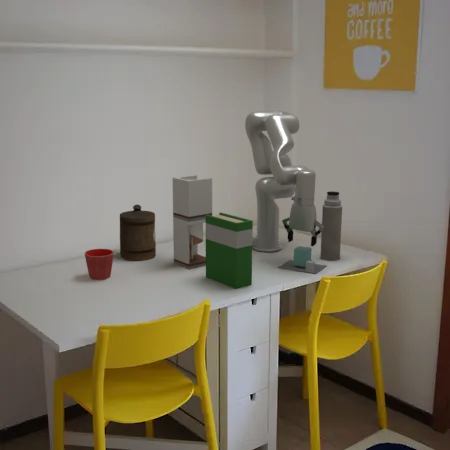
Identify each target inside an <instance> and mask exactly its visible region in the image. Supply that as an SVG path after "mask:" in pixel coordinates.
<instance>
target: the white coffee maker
mask: <svg viewBox="0 0 450 450" xmlns="http://www.w3.org/2000/svg"><path fill="white" fill-rule="evenodd" d="M206 215H210V216H213V177H209V178H199V179H198V175H197V174H193V175H185V176H184V175H183V176H177V177H172V225H173V226H172V228H173V229H172V232H173V234H172V237H173V264H175V265H177V266H179V267H182V268H184V269H187V270H193V269H199V268H202V267H206V256H203V255H201V254H198V252H199V249H198V245H199V244H200V243H203V242H204V223H205V224H206Z"/></svg>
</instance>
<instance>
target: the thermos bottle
mask: <svg viewBox="0 0 450 450" xmlns="http://www.w3.org/2000/svg"><path fill="white" fill-rule="evenodd" d="M326 194H327V195H326V198H325V199H324V201H323V203H324V204H322V209H321V210H322V213H321V214H322V216H321V224H322V225H323V226H324V228H323V230H322V232H321V233H320V234H321V235H320V236H321V239H320V259H322V260H324V261H333V262H334V261H339V260H340V259H341V239H342V238H341V237H342V224H343V223H342V220H343V219H342V218H343V205H342V200H341V199H340V192H338V191H327V192H326Z"/></svg>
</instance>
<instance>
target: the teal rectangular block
mask: <svg viewBox="0 0 450 450" xmlns="http://www.w3.org/2000/svg"><path fill="white" fill-rule="evenodd" d="M312 249H313V248H312V247H311V246H310V247H309V246H302V245H299V246H297V247H295V248H294V249H293V260H294V265H296V266H303V267H306V262H307V261H308V260H309V261H312Z"/></svg>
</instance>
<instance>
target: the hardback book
mask: <svg viewBox="0 0 450 450" xmlns="http://www.w3.org/2000/svg"><path fill="white" fill-rule="evenodd" d="M253 223H254V220H251V219H249V218H248V219H247V218H244V217H241V216H240V217H239V216H237V215H232V214H229V213H225V212H219V213H218V214H217V215H212V216H210V215H206V222H205V257H206V266H205V278H206V279H209V280H211V281H215V283H220V284H221V285H224V286H227V287H230V288H232V289H235V290H238V289H243V288H245V287H246V288H247V287H250V286H252V285H253V280H252V279H253V242H252V237H253V233H254V232H253V228H254V225H253Z"/></svg>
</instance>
